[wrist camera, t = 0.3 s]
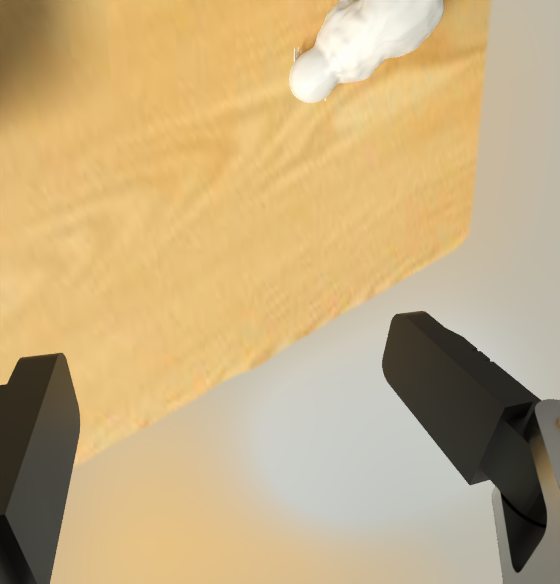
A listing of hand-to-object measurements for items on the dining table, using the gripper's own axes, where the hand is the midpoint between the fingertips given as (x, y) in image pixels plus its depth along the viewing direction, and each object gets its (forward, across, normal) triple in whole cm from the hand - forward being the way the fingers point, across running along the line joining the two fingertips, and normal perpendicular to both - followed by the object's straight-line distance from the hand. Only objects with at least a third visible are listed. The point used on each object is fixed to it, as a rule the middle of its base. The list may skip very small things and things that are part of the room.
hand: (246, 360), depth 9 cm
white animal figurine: (+30, -14, -10) cm, 34 cm away
